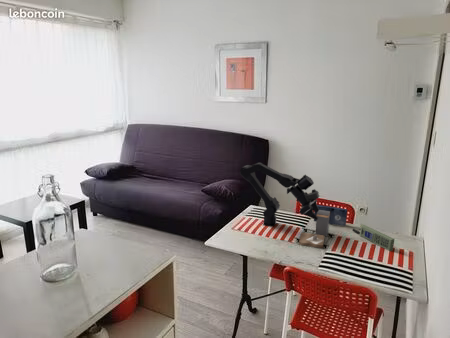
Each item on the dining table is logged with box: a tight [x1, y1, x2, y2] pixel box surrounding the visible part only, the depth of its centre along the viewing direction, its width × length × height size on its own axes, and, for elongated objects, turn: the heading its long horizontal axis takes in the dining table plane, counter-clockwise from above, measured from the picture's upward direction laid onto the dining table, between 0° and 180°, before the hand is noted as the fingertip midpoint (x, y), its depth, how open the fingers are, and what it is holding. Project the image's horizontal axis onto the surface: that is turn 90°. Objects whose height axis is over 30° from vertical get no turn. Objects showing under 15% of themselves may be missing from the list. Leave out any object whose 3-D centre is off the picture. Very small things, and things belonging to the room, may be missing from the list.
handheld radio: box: [352, 223, 395, 252], centre depth 179 cm, size 7×3×25 cm
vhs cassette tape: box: [313, 204, 348, 227], centre depth 201 cm, size 18×3×10 cm, turn 65°
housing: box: [314, 210, 330, 238], centre depth 186 cm, size 6×6×12 cm
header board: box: [298, 232, 325, 249], centre depth 178 cm, size 12×12×4 cm
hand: (318, 216), depth 186 cm, fingers open, 9 cm apart
